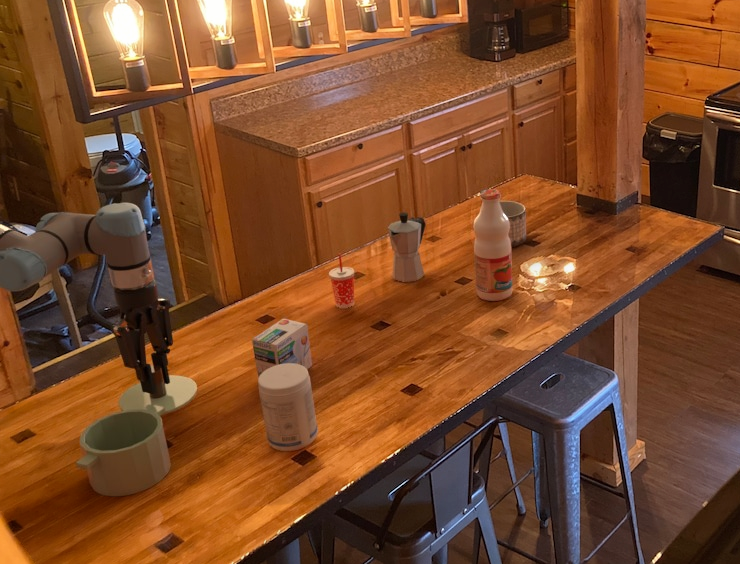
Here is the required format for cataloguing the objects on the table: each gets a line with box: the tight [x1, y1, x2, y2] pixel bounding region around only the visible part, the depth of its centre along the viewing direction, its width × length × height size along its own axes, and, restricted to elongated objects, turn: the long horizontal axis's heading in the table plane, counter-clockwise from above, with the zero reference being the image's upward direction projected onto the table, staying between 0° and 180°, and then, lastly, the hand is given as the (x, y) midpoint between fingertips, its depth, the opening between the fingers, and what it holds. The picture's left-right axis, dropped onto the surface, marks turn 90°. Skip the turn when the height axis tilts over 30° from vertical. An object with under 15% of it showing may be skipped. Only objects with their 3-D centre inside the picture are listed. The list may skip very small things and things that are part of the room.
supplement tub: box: [257, 363, 319, 452], centre depth 184 cm, size 10×10×15 cm
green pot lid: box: [118, 364, 198, 416], centre depth 191 cm, size 15×15×7 cm
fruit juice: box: [473, 188, 514, 302], centre depth 240 cm, size 9×9×28 cm
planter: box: [499, 200, 527, 248], centre depth 274 cm, size 13×13×10 cm
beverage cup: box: [328, 253, 356, 309], centre depth 237 cm, size 6×6×14 cm
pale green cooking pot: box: [75, 405, 172, 497], centre depth 175 cm, size 14×19×10 cm
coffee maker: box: [387, 212, 427, 283], centre depth 252 cm, size 15×9×18 cm, turn 155°
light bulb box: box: [251, 317, 313, 379], centre depth 207 cm, size 11×7×11 cm, turn 158°
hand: (156, 386), depth 191 cm, fingers closed on green pot lid, 3 cm apart
